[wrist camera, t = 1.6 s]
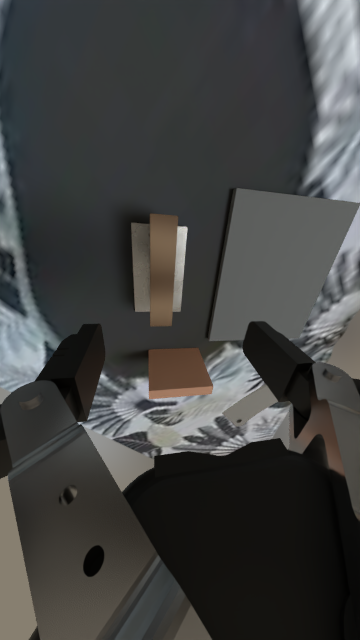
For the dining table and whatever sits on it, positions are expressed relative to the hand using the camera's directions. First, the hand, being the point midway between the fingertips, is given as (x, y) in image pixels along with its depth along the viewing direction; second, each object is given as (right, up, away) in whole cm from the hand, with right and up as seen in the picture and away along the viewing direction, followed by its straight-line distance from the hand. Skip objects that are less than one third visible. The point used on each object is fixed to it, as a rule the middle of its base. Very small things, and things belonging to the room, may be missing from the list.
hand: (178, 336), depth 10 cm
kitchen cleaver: (+22, -17, +35) cm, 44 cm away
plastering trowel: (-3, +8, +16) cm, 18 cm away
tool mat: (+15, +7, +19) cm, 25 cm away
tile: (-1, -5, +23) cm, 24 cm away
